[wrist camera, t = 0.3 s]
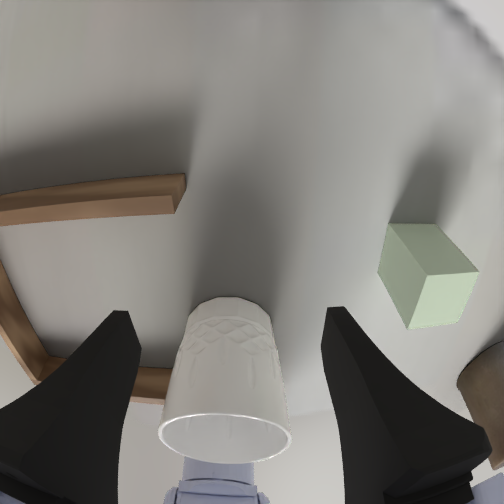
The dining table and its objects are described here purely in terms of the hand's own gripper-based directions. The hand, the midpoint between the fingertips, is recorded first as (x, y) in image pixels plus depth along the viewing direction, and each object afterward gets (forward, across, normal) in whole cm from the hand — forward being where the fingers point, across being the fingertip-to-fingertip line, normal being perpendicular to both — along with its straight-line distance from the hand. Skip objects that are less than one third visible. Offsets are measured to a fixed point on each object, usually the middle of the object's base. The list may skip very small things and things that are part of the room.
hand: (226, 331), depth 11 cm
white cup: (+10, +1, +10) cm, 14 cm away
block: (+10, -12, +3) cm, 16 cm away
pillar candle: (+10, -31, +21) cm, 39 cm away
